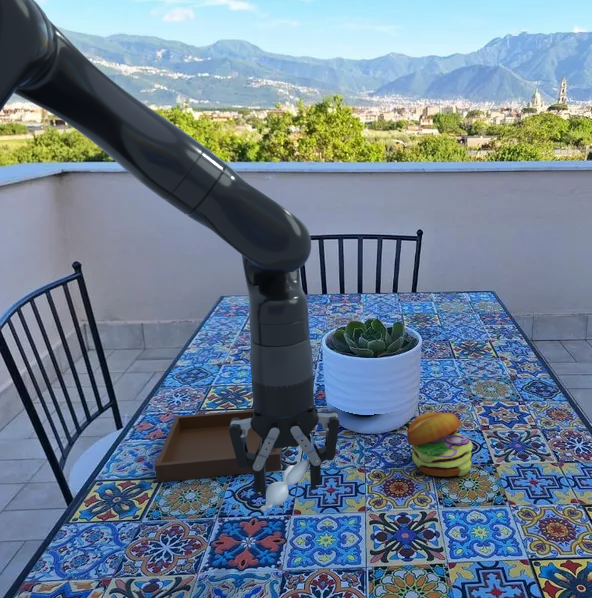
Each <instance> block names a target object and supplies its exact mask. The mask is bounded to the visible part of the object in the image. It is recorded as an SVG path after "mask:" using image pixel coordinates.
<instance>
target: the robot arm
mask: <svg viewBox="0 0 592 598" xmlns="http://www.w3.org/2000/svg"><path fill="white" fill-rule="evenodd" d="M13 95H16V96H18V97H20V98H22V99H24V100H25V101H28V102H30V103H31V104H34V105H35V106H37V107H38V108H41V109H43V110H45V111H46V112H48V113H50V114H52V115H54V116H55V117H57V118H58V119H60V120H61V121H63V122H64V123H66V124H67V125H69V126H70V127H72V128H73V129H74V130H76V131H78V132H79V133H80V134H82V135H83V136H84V137H86V138H87V139H88V140H89V141H91V142H92V143H93V144H95V145H96V146H97V147H98V148H99V149H100V150H102V151H103V152H104V153H105V154H106V155H108V156H109V157H110V158H111V159H112V160H114V161H115V162H116V164H118V165H119V166H121V167H122V168H123V169H124V170H125V171H126V172H128V173H129V174H130V175H131V176H132V177H134V178H135V179H136V180H137V181H139V183H141V184H142V185H144V186H145V187H146V188H147V189H149V190H150V191H151V192H153V193H154V194H155V195H157V196H158V197H159V198H161V199H163V200H164V201H166V202H167V203H168V204H170V205H171V206H172V207H174V208H175V209H177V210H178V211H179V212H181V213H183V214H184V215H186V216H187V217H189V218H190V219H192V220H193V221H195V222H196V223H199V224H200V225H202V226H204V227H205V228H207V229H208V230H211V232H213V233H214V234H215V235H216V236H218V237H219V238H220V239H222V240H223V241H224V242H225V243H227V245H229V246H230V247H231V248H233V249H234V250H235V251H236V252H238V253H239V254H240V255H241V260H242V267H243V272H244V278H245V283H246V287H247V292H248V293H247V294H248V295H247V296H248V321H249V334H250V349H249V364H250V365H249V366H250V378H251V380H250V381H251V393H252V404H253V405H252V406H253V410H254V412H253V414H252V416H251V418H248V419H243V420H240V419H239V418H237V417H235V418H233V419H232V420H231V424H230V428H229V433H230V437H231V441H232V445H233V448H234V452H235V456H236V460H237V463H238V466H239V467H240V468H245V467H250V468H252V470H253V472H254V473H253V485H254V489H255V491H256V492H258V491H259V494H260V496H262V495H266V489H267V487H268V484H267V483H268V482H267V472H266V468H265V461H266V459H267V458H268V456H269V454H270V452H271V449H272V447H274V449H276V448H282V449H283V448H286V447H289V448H299V447H300V449H301V451H302V452H303V454H304V455H306V457H307V458H308V459H309V460H310V464H309V473H310V474H309V477H310V478H309V479H310V491H317V486H321V483H322V469H321V466H322V463H323V462H326V461H333V460H334V459H335V457H336V450H337V442H338V436H339V429H340V418H339V413H338V411H337V410H335V409H334V410H330V411H329V412H328V413H326V412H318V410H317V409H316V407H315V391H314V359H313V349H312V344H311V338H310V318H309V317H310V314H309V304H308V298H307V296H306V293H305V291H304V289H303V287H302V284H301V275H300V269H301V268H302V267H303V266H304V265H305V264H306V263H307V261H308V259H309V258H310V255H311V251H312V237H311V235H310V232H309V229H308V228H307V226H306V224H305V223H304V222H303V221H302V220H301V219H300V218H299V217H297V216H296V215H295V214H294V213H292V212H291V211H290V210H288V209H287V208H286V207H284V206H283V205H281V204H279V203H278V202H277V201H275V200H274V199H272V198H270V197H269V196H268V195H266V194H265V193H263V192H262V191H261V190H259V189H257V188H256V187H254V186H253V185H251V184H250V183H249V182H247V180H245V179H244V178H243V177H242V176H241V175H240V174H239V173H237V172H236V170H235V169H234V168H232V167H231V166H229V164H227V163H226V162H225V161H224V160H222V159H221V158H220V157H218V156H217V155H216V154H214V152H212V151H211V150H209V148H207V147H205V146H204V145H203V144H202V143H200V142H199V141H197V139H195V138H193V136H191V135H189V134H188V133H187V132H185V131H184V130H182V129H181V128H179V127H178V126H177V125H176V124H174V123H172V122H171V121H169V120H168V119H167V118H165V117H164V116H163V115H161V114H159V113H158V112H156V111H155V110H153V109H152V108H151V107H149V106H148V105H146V104H144V102H142V101H141V100H139V99H137V98H136V97H135V96H133V95H132V94H131V93H129V92H128V91H127V90H125V89H124V88H122V87H121V85H119V84H118V83H116V82H115V81H114V80H112V79H111V78H110V77H109V76H108V75H107V74H106V73H104V72H103V71H102V70H101V69H99V67H97V66H96V65H95V64H94V63H93V62H92V61H91V60H90V59H88V58H87V57H86V56H85V55H84V54H83V53H82V52H81V51H80V50H79V49H78V47H76V46H75V45H74V44H73V43H72V42H71V40H70V39H69V38H67V36H65V35H64V33H63V32H62V31H60V30H59V28H58V27H56V25H55V24H54V23H53V22H52V21H51V20H50V19H49V18H48V16H47V14H46V13H45V11H44V10H43V9H42V7H41V6H40V5H39V4H38V2H36V0H0V113H1V112H2V110H3V109H4V107H5V106H6V104H7V103H8V101H9V100H10V99H11V98H12V96H13ZM318 424H320V425H321V428H322V431H325V439H324V445H323V446H321V447H318V444H317V443H316V441H315V440H314V436H313V434H312V432H313V430H314V429H315V427H316V426H317V425H318ZM250 428H252V429H253V430H254V431H255V432H256V433H257V434H258V435H259V436H260V437H261V440H260V443H259V446H258V448H257V451H256V453H255V454H253V453H249V451H248V447H247V443H246V439H245V437H246V436H247V435H248V430H249V429H250Z"/></svg>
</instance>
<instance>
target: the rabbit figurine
mask: <svg viewBox="0 0 592 598" xmlns="http://www.w3.org/2000/svg"><path fill="white" fill-rule="evenodd" d="M309 469H310V460H309V458H308V459H307V458H306V459H303V460H300V461H299V462H297V463H296V464H295V465H289V466H288V467H286V468H285V470H284V472H283V474H282V480H281V481H274V482H272V483H270V484H268V485H267V489H266V494H265V505H261V506H260V511H261V512H264V513H265V512H266V511H267V510H271V509H272V508H273V506H274V507H275V506H281V505H282V504H284V503H285V502H286V501H287V499H288V498H289V499H290V500H292V501H293V500H294V497H293V496H292V495H290V494H289V491H290V490H289V486H293V485H296V484H297V483H299V481H301V480H302V478H303V477H304V476H305V474H306V473H307V472H308V470H309Z"/></svg>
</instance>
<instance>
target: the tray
mask: <svg viewBox="0 0 592 598" xmlns="http://www.w3.org/2000/svg"><path fill="white" fill-rule="evenodd" d="M253 412H254V409H247V410H234V411H233V410H232V411H223V412H208V413H197V414H187V415H176V416H174V419H173V422H172V424H171V425H170V429H169V431H168V434H167V436H166V438H165V441H164V444H163V445H162V447H161V450H160V452H159V455H158V456H157V459H156V462H155V465H154V469H155V470H154V471H155V476H156V477H155V478H156V483H157V484H158V483H168V482H178V481H187V480H188V481H189V480H196V479H207V478H216V477H217V478H218V477H227V476H236V475H237V476H239V475H247V474H254V472H253V470H252V468H250V467H245V468H240V467H239V466H238V463H237V460H236V456H235V452H234V448H233V445H232V441H231V437H230V433H229V428H230V424H231V420H232V419H233V418H235V417H237V418H239V419H240V420H243V419H248V418H251V416H252V414H253ZM245 439H246V443H247V447H248V451H249V453H253V454H255V453H256V451H257V448H258V446H259V443H260V440H261V437H260V436H259V435H258V434H257V433H256V432H255V431H254V430H253V429H252V428H250V429H249V430H248V435H247V436H246V437H245ZM282 459H283V447H282V448H276V449H274V447H272V449H271V452H270V454H269V456H268V458H267V459H266V461H265V468H266V473H267V472H268V473H269V472H276V471H277V472H278V471H282V462H283V461H282Z"/></svg>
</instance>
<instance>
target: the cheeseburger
mask: <svg viewBox="0 0 592 598" xmlns="http://www.w3.org/2000/svg"><path fill="white" fill-rule="evenodd" d="M461 425H462V423H461V421H460V419H459V418H458V417H457V415H456V414H454V413H448V412H426V413H422V414H420V415H418V416H416V417H415V418H414V419H413V421H412V422H411V423H410V425H409V427H408V429H407V431H406V432H407V433H406V440H407V444H409V445H411V449H412V453H411V458H412V461H413V463H414V465H416V466H417V468H418V470H419V471H420V472H422V473H423V474H425V475H428V476H433V477H454V476H458V477H463V476H466V475H467V474H469V472H470V471H471V469H472V450H473V448H474V447H473V446H474V444H473V443H472V441H471V440H470V439H469V437H467V436H466V435H463V434H461V433H459V432H460V431H461Z"/></svg>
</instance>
